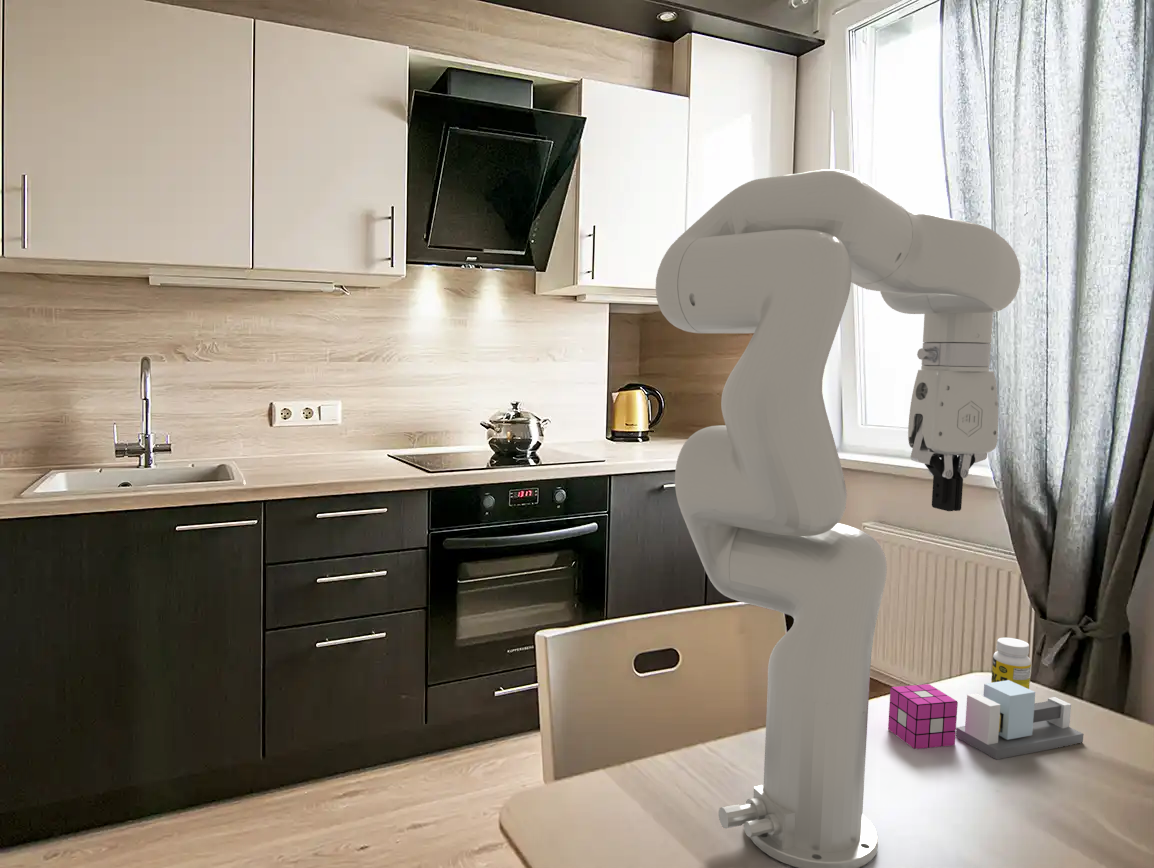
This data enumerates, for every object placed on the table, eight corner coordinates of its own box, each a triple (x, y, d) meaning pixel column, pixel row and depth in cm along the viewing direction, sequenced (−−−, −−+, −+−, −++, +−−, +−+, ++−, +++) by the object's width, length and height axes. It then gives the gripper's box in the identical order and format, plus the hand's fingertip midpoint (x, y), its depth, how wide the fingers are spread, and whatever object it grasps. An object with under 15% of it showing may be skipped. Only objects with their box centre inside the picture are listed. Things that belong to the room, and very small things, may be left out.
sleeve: (1007, 739, 104) (1010, 696, 104) (981, 726, 108) (984, 683, 108) (1032, 735, 106) (1035, 692, 105) (1005, 721, 109) (1008, 680, 109)
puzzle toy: (955, 745, 106) (958, 701, 105) (914, 750, 105) (917, 704, 104) (926, 726, 112) (929, 683, 111) (887, 729, 110) (890, 686, 110)
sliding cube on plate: (996, 759, 102) (999, 710, 102) (955, 736, 108) (958, 690, 108) (1082, 742, 107) (1086, 696, 107) (1039, 721, 113) (1042, 677, 113)
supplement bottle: (983, 693, 122) (987, 636, 122) (1014, 693, 123) (1018, 635, 122) (1003, 707, 118) (1007, 648, 117) (1035, 706, 118) (1040, 647, 117)
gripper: (928, 358, 97) (919, 518, 99) (1028, 360, 103) (1017, 511, 104) (883, 357, 104) (875, 506, 106) (979, 359, 110) (970, 501, 111)
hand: (946, 508), depth 105 cm, fingers closed
